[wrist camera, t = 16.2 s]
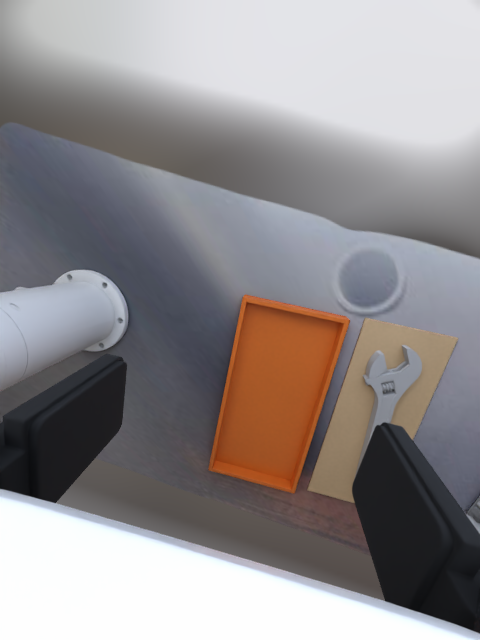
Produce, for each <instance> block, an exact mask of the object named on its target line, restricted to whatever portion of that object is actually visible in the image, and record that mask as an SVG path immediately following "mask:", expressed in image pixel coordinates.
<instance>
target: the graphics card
mask: <svg viewBox="0 0 480 640" xmlns="http://www.w3.org/2000/svg"><path fill="white" fill-rule="evenodd" d="M467 513H468V514H466V513H465V514H466V515H467V517H468V518H469V520H470V521H471V522H472V524H473V525H474V527H475V528H476V529H477V531H478V532H479V534H480V496H479V498H478V499H477V500H476V502H475V503H474V504H473V505H472V507H471V508H470V509H469V510H468V512H467Z"/></svg>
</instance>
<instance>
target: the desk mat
mask: <svg viewBox="0 0 480 640" xmlns="http://www.w3.org/2000/svg"><path fill="white" fill-rule="evenodd" d="M457 340H458V338H456V337H452V336H447V335H442V334H438V333H433V332H429V331H424V330H419V329H415V328H410V327H406V326H401V325H396V324H392V323H387V322H382V321H378V320H373V319H369V318H365V320H364V323H363V325H362V328H361V331H360V334H359V337H358V340H357V343H356V346H355V349H354V352H353V355H352V358H351V361H350V364H349V367H348V370H347V373H346V376H345V379H344V382H343V385H342V388H341V391H340V394H339V397H338V400H337V403H336V405H335V408H334V411H333V414H332V417H331V420H330V423H329V426H328V429H327V432H326V435H325V438H324V441H323V444H322V447H321V450H320V453H319V456H318V459H317V462H316V465H315V468H314V471H313V474H312V477H311V480H310V483H309V486H308V488H307V490H308V491H312V492H316V493H319V494H323V495H327V496H330V497H334V498H338V499H342V500H345V501H349V502H353V503H355V502H354V498H353V495H352V485H353V482H354V479H355V475H356V471H357V467H358V463H359V459H360V455H361V451H362V447H363V444H364V440H365V436H366V432H367V428H368V424H369V420H370V416H371V412H372V408H373V405H374V399H375V394H374V390H373V388H372V386H371V385H366V384H365V379H364V377H363V375H365V374H366V368H367V364H368V361H369V359H370V358H371V356H372V355H373V354H374V353H375V352H376V351H378V350H380V351H381V352H382V353H383V354H384V357H385V362H386V366H387V370H388V369H392V368H396V367H397V366H399V365H400V364H401V363H402V362H404V361H405V359H404V354H403V349H402V345H407V346H408V347H409V348H411V349H412V350H413V351H415V352H416V353H417V354H418V356H419V357H420V359H421V362H422V371H421V373H420V375H419V377H418V378H417V379H416V380H415V382H414V383H413V384H412V385H411V386H410V387H409V388H408V389H407V390H406V391H405V392H404V393H403V395H402V396H401V397H400V399H399V400H398V401H397V403H396V405H395V407H394V411H393V415H392V419H391V423H390V424H394V425H398V426H402V427H403V428H404V429H405V431H406V432H407V433H408V435H409V436H410V438H411V439H412V440H413V439H414V436H415V434H416V432H417V430H418V427H419V425H420V423H421V421H422V418H423V416H424V414H425V412H426V410H427V407H428V405H429V403H430V401H431V398H432V396H433V394H434V392H435V389H436V387H437V385H438V383H439V381H440V378H441V376H442V374H443V372H444V369H445V367H446V365H447V363H448V360H449V358H450V356H451V354H452V352H453V349H454V347H455V345H456V343H457Z"/></svg>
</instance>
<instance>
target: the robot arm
mask: <svg viewBox="0 0 480 640" xmlns="http://www.w3.org/2000/svg"><path fill="white" fill-rule="evenodd" d="M122 319H123V320H122ZM127 326H128V308H127V304H126V301H125V299H124V297H123V295H122V293H121V292H120V290H119V288H118V287H117V286H116V285H115V284H114V283H113V282H112V281H111V280H110V279H108V278H107V277H106V276H104V275H102V274H100V273H98V272H95V271H92V270H74V271H70V272H67V273H65V274H63V275H62V276H60V277H59V278H58V279H57V280H56V281H55V283H54V284H53V285H48V286H42V287H35V288H24V287H17V288H16V289H15V290H14V291H8V292H2V293H0V392H1V391H3V390H5V389H7V388H9V387H11V386H13V385H15V384H17V383H19V382H21V381H23V380H25V379H27V378H28V377H30V376H32V375H34V374H36V373H38V372H40V371H42V370H44V369H46V368H48V367H50V366H52V365H54V364H56V363H58V362H60V361H62V360H64V359H66V358H68V357H70V356H72V355H74V354H76V353H78V352H80V351H82V350H86V351H102V350H106V349H108V348H110V347H112V346H113V345H115V344H116V343H117V342H118V341H119V340H120V339H121V338H122V337H123V335H124V333H125V332H126V329H127ZM126 370H127V364H126V363H125V362H124V361H123V358H122V357H118V356H113V355H109V354H106V355H104V356H102V357H100V358H99V359H97V360H95V361H94V362H92V363H90V364H89V365H87V366H85V367H84V368H82V369H80V370H79V371H77V372H75V373H74V374H72V375H70V376H69V377H67V378H65V379H64V380H62V381H60V382H59V383H57V384H55V385H54V386H52V387H50V388H49V389H47V390H45V391H44V392H42V393H40V394H39V395H37V396H35V397H34V398H32V399H30V400H29V401H27V402H25V403H24V404H22V405H20V406H19V407H17V408H15V409H14V410H12V411H10V412H9V413H7V414H5V415H4V416H3V422H2V423H0V640H480V534H479V532H478V531H477V529H476V528H475V527H474V525H473V524H472V522H471V521H470V520H469V518H468V517H467V515H466V514H465V513H464V511H463V510H462V508H461V507H460V506H459V504H458V503H457V502H456V500H455V499H454V497H453V496H452V495H451V493H450V492H449V490H448V489H447V488H446V486H445V485H444V483H443V482H442V481H441V479H440V478H439V476H438V475H437V474H436V472H435V471H434V470H433V468H432V467H431V465H430V464H429V463H428V461H427V460H426V458H425V457H424V456H423V454H422V453H421V451H420V450H419V449H418V447H417V446H416V444H415V443H414V442H413V440H412V439H411V438H410V436H409V435H408V433H407V432H406V431H405V429H404V428H403V427H402V426H398V425H394V424H390V423H386V422H383V423H382V424H381V425H377V426H376V427H375V429H374V431H373V434H372V436H371V439H370V441H369V444H368V446H367V449H366V452H365V454H364V457H363V459H362V462H361V464H360V467H359V469H358V472H357V474H356V477H355V479H354V482H353V485H352V495H353V498H354V502H355V505H356V508H357V511H358V514H359V518H360V521H361V524H362V527H363V531H364V534H365V537H366V540H367V543H368V547H369V550H370V553H371V556H372V560H373V563H374V566H375V569H376V572H377V576H378V579H379V582H380V585H381V588H382V592H383V595H384V598H385V601H382V600H379V599H376V598H373V597H369V596H366V595H362V594H360V593H356V592H353V591H349V590H346V589H343V588H340V587H337V586H333V585H330V584H327V583H323V582H320V581H317V580H314V579H310V578H307V577H303V576H300V575H297V574H294V573H290V572H287V571H284V570H280V569H277V568H274V567H271V566H267V565H264V564H261V563H257V562H254V561H250V560H247V559H244V558H241V557H237V556H234V555H230V554H227V553H224V552H220V551H217V550H214V549H210V548H207V547H204V546H200V545H197V544H194V543H190V542H186V541H183V540H180V539H177V538H173V537H170V536H167V535H163V534H159V533H156V532H153V531H150V530H146V529H142V528H139V527H136V526H132V525H129V524H125V523H122V522H119V521H115V520H112V519H108V518H105V517H101V516H98V515H94V514H91V513H87V512H84V511H81V510H77V509H74V508H70V507H67V506H63V505H59V504H56V502H57V501H58V500H59V499H60V497H61V496H62V495H63V494H64V493H65V492H66V490H67V489H68V488H69V487H70V486H71V485H72V484H73V483H74V481H75V480H76V479H77V478H78V477H79V476H80V475H81V473H82V472H83V471H84V470H85V469H86V468H87V467H88V465H89V464H90V463H91V462H92V461H93V460H94V459H95V458H96V456H97V455H98V454H99V453H100V452H101V451H102V450H103V448H104V447H105V446H106V445H107V444H108V443H109V442H110V441H111V439H112V438H113V437H114V436H115V435H116V434H117V432H118V431H119V429H120V427H121V425H122V418H123V406H124V394H125V382H126Z"/></svg>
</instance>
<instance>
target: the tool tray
mask: <svg viewBox="0 0 480 640" xmlns="http://www.w3.org/2000/svg"><path fill="white" fill-rule="evenodd" d="M349 322H350V320H349V319H348V318H347V317H346V316H341V315H336V314H332V313H327V312H323V311H318V310H313V309H309V308H304V307H300V306H295V305H290V304H286V303H281V302H277V301H272V300H268V299H263V298H258V297H254V296H249V295H244V297H243V300H242V305H241V310H240V315H239V320H238V325H237V330H236V334H235V339H234V344H233V349H232V354H231V359H230V364H229V369H228V374H227V379H226V384H225V389H224V394H223V399H222V404H221V409H220V414H219V419H218V424H217V429H216V434H215V439H214V444H213V449H212V454H211V459H210V464H209V469H208V470H210V471H213V472H217V473H221V474H224V475H228V476H232V477H235V478H239V479H243V480H246V481H250V482H254V483H257V484H261V485H264V486H268V487H272V488H275V489H279V490H283V491H286V492H290V493H295V490H296V487H297V484H298V481H299V477H300V474H301V471H302V468H303V465H304V462H305V459H306V456H307V453H308V450H309V446H310V443H311V440H312V437H313V434H314V431H315V428H316V425H317V422H318V418H319V415H320V412H321V409H322V406H323V403H324V400H325V397H326V394H327V391H328V387H329V384H330V381H331V378H332V375H333V372H334V369H335V366H336V363H337V360H338V356H339V353H340V350H341V347H342V344H343V341H344V338H345V335H346V332H347V328H348V325H349Z"/></svg>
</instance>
